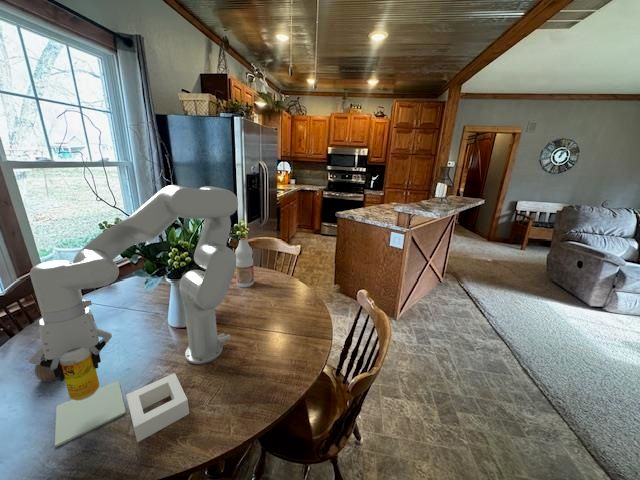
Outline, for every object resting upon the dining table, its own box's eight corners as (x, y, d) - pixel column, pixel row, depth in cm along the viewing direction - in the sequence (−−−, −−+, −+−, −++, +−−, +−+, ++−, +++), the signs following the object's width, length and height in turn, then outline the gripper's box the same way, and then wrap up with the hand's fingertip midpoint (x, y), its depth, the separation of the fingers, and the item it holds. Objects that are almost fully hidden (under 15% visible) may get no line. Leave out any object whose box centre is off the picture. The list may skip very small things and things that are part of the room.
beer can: (64, 404, 68) (50, 355, 64) (78, 385, 74) (65, 339, 69) (93, 399, 70) (80, 351, 65) (104, 381, 75) (93, 336, 71)
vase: (74, 368, 87) (68, 346, 85) (55, 385, 81) (47, 362, 78) (52, 368, 87) (45, 346, 84) (31, 385, 80) (23, 362, 78)
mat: (119, 381, 83) (118, 380, 83) (125, 413, 73) (125, 411, 73) (56, 407, 74) (56, 405, 74) (55, 447, 64) (54, 445, 64)
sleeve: (176, 385, 82) (174, 372, 81) (189, 413, 74) (187, 399, 72) (129, 408, 75) (126, 394, 73) (137, 442, 66) (133, 427, 65)
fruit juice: (233, 283, 150) (230, 235, 142) (248, 278, 156) (246, 233, 148) (242, 289, 144) (239, 240, 135) (257, 284, 150) (255, 236, 142)
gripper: (107, 294, 73) (118, 349, 78) (13, 316, 61) (33, 379, 67) (110, 305, 67) (122, 364, 73) (8, 332, 56) (30, 399, 61)
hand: (79, 370), depth 70 cm, fingers closed on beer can, 6 cm apart
